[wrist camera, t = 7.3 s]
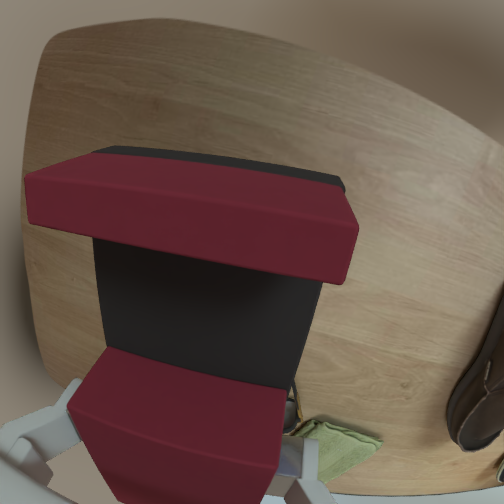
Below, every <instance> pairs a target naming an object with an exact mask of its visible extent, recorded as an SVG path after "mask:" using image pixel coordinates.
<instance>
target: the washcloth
mask: <svg viewBox="0 0 504 504" xmlns="http://www.w3.org/2000/svg"><path fill="white" fill-rule="evenodd" d="M294 436H296V437H303V438H311V439H317V440H318V442H319V452H318V480H321V481H322V482H323V483H324V485H325V484H326V483H327V482H329V481H330V480H332V479H335V478H337V477H339V476H340V475H342V474H343V473H345V472H346V471H348V470H349V469H351V468H352V467H354V466H356V465H358V464H359V463H361V462H363V461H365V460H366V459H368V458H369V457H371V456H372V455H373V454H374V453H375V452H376V451H377V450H378V449H379V448H380V447H381V446H382V444H383V443H384V442H383V440H378V438H377V437H369V436H368V435H365V434H362V433H357V432H356V431H352V430H349V429H346V428H343V427H339V426H335V425H331V424H329V423H327V422H323V423H320V422H318V421H316V420H311V421H310V422H307V424H306V425H305V426H303V428H301V429H300V431H297V432H296V433H295V434H294Z"/></svg>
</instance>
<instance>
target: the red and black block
mask: <svg viewBox="0 0 504 504" xmlns="http://www.w3.org/2000/svg"><path fill="white" fill-rule="evenodd" d="M24 182H25V195H26V206H27V215H28V222H29V223H30V224H33V225H38V226H42V227H47V228H51V229H56V230H61V231H65V232H70V233H75V234H79V235H84V236H89V237H92V239H93V251H94V262H95V271H96V280H97V288H98V296H99V303H100V310H101V316H102V322H103V328H104V334H105V339H106V345H107V348H106V349H105V351H104V352H103V353H102V355H101V356H100V357H99V359H98V360H97V362H96V363H95V364H94V366H93V367H92V368H91V370H90V371H89V373H88V374H87V376H86V377H85V378H84V380H83V381H82V383H81V384H80V385H79V387H78V388H77V390H76V391H75V393H74V394H73V395H72V397H71V398H70V400H69V401H68V403H67V405H66V407H67V409H68V411H69V413H70V416H71V418H72V420H73V422H74V424H75V426H76V428H77V430H78V432H79V434H80V436H81V438H82V440H83V442H84V444H85V446H86V448H87V450H88V452H89V454H90V455H91V457H92V459H93V461H94V462H95V464H96V466H97V468H98V470H99V471H100V473H101V475H102V476H103V478H104V480H105V481H106V483H107V484H108V486H109V488H110V489H111V491H112V493H113V494H114V496H115V497H116V499H117V500H118V501H120V502H122V503H125V504H260V502H261V501H262V498H263V497H264V495H265V493H266V491H267V489H268V487H269V485H270V483H271V481H272V479H273V477H274V475H275V473H276V471H277V469H278V467H279V459H280V451H281V443H282V434H283V425H284V416H285V407H286V401H287V398H288V395H289V392H290V389H291V386H292V383H293V380H294V377H295V374H296V371H297V368H298V365H299V362H300V359H301V356H302V352H303V349H304V346H305V343H306V339H307V336H308V333H309V330H310V326H311V323H312V319H313V316H314V313H315V309H316V306H317V302H318V299H319V295H320V291H321V288H322V284H323V282H324V283H330V284H335V285H342V284H343V283H344V281H345V278H346V275H347V272H348V268H349V265H350V261H351V258H352V254H353V251H354V247H355V243H356V240H357V236H358V232H359V224H358V222H357V220H356V218H355V216H354V213H353V211H352V209H351V207H350V205H349V203H348V201H347V198H346V196H345V186H344V184H343V183H342V181H341V179H340V177H338V176H335V175H331V174H326V173H321V172H316V171H310V170H305V169H300V168H294V167H289V166H283V165H277V164H271V163H265V162H259V161H252V160H246V159H239V158H232V157H225V156H217V155H210V154H202V153H193V152H184V151H175V150H165V149H154V148H143V147H130V146H115V145H114V146H111V147H107V148H103V149H100V150H96V151H93V152H91V153H89V154H86V155H83V156H79V157H76V158H73V159H70V160H67V161H63V162H60V163H57V164H54V165H51V166H49V167H46V168H43V169H40V170H37V171H34V172H32V173H29V174H27V175H26V176H25V178H24Z"/></svg>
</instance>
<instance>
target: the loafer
mask: <svg viewBox="0 0 504 504" xmlns="http://www.w3.org/2000/svg"><path fill="white" fill-rule="evenodd" d="M447 424H448V430H449V434H450V437H451V439H452V440H453V441H454V442H455V443H456V444H457V445H459V447H460V448H461V450H462V451H464V452H473V453H474V452H476V451H478V450H481V449H484V448H486V447H488V446H489V445H490V444H491V443H492V442H493V441H494V440H495V439H496V438H497V437H499V436H500V433H501V432H502V431H503V429H504V296H503V298H502V300H501V303H500V305H499V308H498V310H497V313H496V316H495V318H494V321H493V323H492V326H491V328H490V331H489V333H488V336H487V338H486V341H485V343H484V346H483V348H482V350H481V353H480V355H479V356H478V358H477V360H476V361H475V363H474V364H473V366H472V367H471V368H470V370H469V371H468V372H467V373H466V374H465V376H464V377H463V379H462V380H461V381H460V383H459V385H458V386H457V387H456V389H455V391H454V393H453V395H452V397H451V400H450V402H449V406H448V413H447Z"/></svg>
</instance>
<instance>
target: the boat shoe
mask: <svg viewBox="0 0 504 504" xmlns="http://www.w3.org/2000/svg"><path fill="white" fill-rule="evenodd" d="M496 478H497V480H498V481H499V482H504V460H503V461H502V463H501V464H500V466H499V468H498V470H497V473H496Z"/></svg>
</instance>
